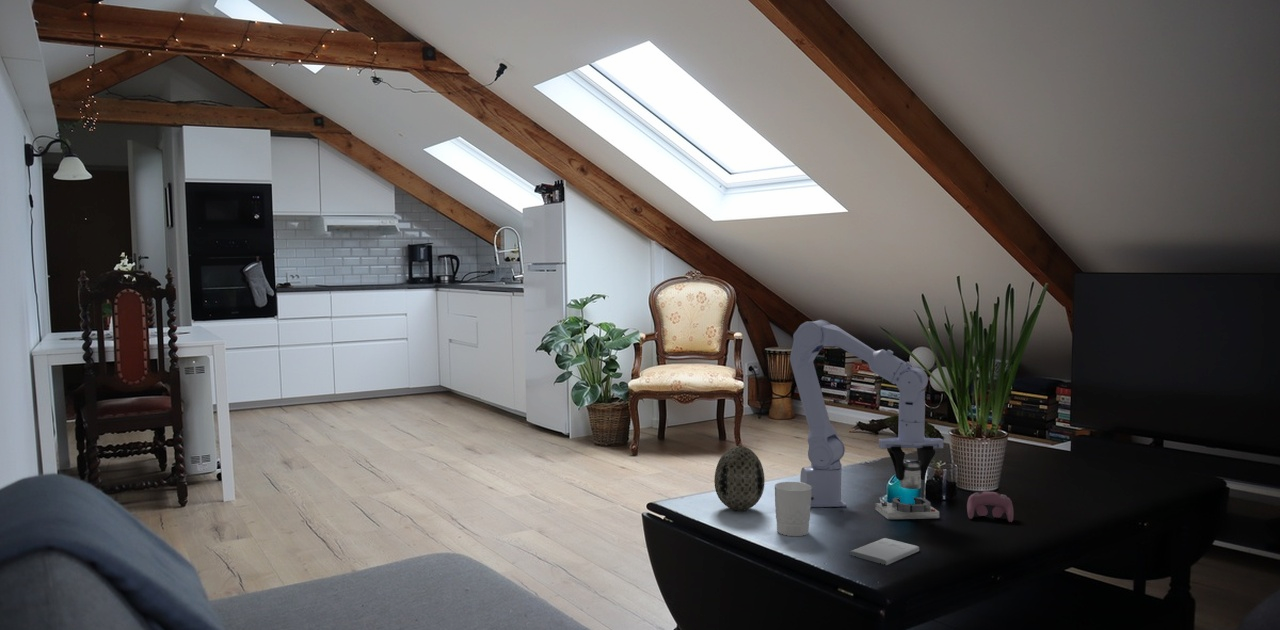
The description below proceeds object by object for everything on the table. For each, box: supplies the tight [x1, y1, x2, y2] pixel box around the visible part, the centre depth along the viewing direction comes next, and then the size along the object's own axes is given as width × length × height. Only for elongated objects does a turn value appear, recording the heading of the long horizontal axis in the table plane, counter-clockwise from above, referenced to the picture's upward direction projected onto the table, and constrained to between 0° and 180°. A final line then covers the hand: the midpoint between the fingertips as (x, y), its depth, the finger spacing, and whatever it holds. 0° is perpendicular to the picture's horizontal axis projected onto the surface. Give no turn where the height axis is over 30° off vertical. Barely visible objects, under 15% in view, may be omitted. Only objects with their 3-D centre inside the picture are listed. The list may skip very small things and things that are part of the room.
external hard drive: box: [849, 537, 920, 566], centre depth 178 cm, size 2×8×12 cm
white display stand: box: [874, 496, 940, 520], centre depth 206 cm, size 12×8×3 cm, turn 95°
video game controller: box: [966, 490, 1014, 523], centre depth 203 cm, size 10×5×7 cm, turn 72°
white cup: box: [774, 481, 812, 537], centre depth 192 cm, size 8×8×10 cm
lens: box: [899, 458, 922, 490], centre depth 204 cm, size 5×5×6 cm
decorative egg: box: [714, 445, 766, 512], centre depth 209 cm, size 12×12×15 cm
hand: (910, 479), depth 205 cm, fingers closed on lens, 4 cm apart
